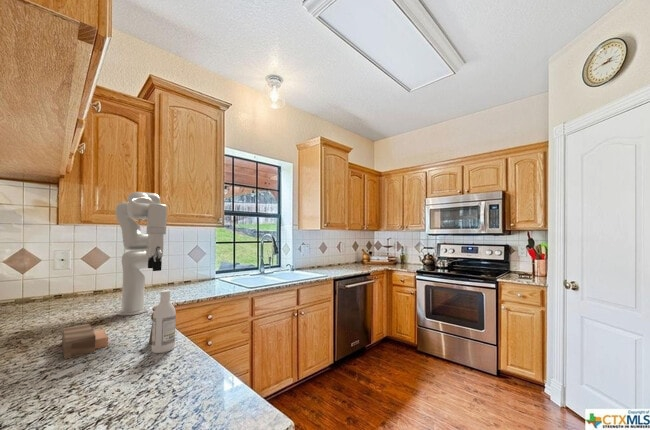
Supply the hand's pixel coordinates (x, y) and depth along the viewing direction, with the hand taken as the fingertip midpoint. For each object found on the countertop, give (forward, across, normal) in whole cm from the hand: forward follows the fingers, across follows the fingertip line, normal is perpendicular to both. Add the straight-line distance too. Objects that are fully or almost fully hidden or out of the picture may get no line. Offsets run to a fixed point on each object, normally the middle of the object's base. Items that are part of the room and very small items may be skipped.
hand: (154, 269), depth 125 cm
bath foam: (+23, +34, -3) cm, 41 cm away
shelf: (+24, +11, -25) cm, 36 cm away
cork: (+24, +24, -2) cm, 34 cm away
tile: (+25, +11, -22) cm, 35 cm away
